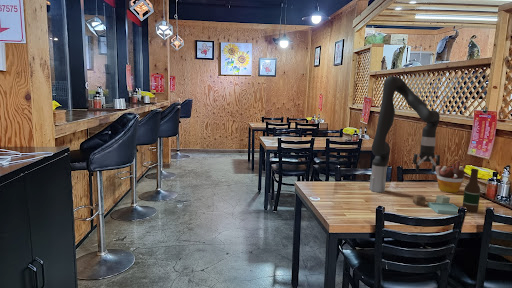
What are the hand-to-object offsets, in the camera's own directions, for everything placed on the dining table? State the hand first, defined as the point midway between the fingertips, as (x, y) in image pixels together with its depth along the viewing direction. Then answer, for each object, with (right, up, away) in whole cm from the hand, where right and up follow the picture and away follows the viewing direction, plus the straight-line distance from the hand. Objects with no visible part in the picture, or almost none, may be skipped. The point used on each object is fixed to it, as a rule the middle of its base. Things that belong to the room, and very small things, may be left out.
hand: (425, 171), depth 205 cm
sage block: (+11, -20, +1) cm, 22 cm away
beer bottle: (+21, -22, -9) cm, 31 cm away
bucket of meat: (+32, -16, +32) cm, 48 cm away
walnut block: (-4, -19, 0) cm, 20 cm away
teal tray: (+7, -21, -9) cm, 24 cm away
